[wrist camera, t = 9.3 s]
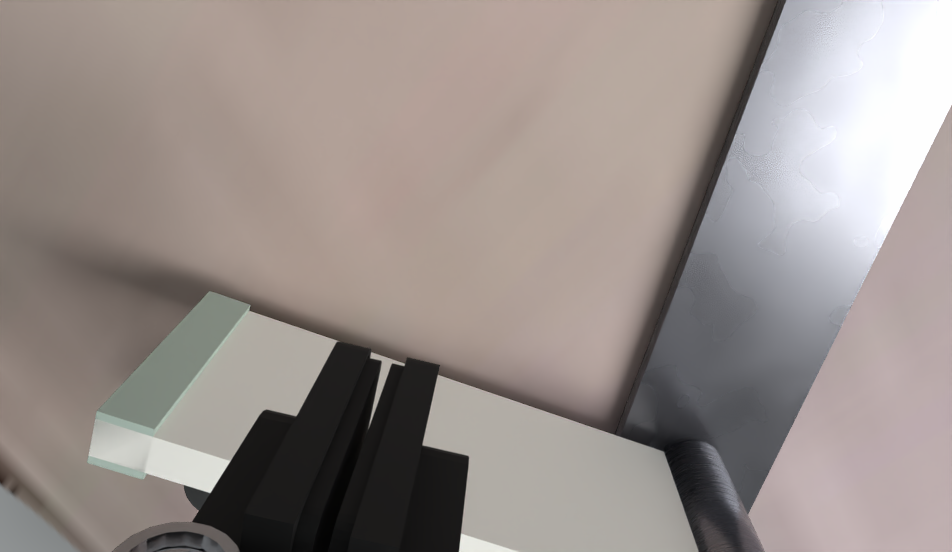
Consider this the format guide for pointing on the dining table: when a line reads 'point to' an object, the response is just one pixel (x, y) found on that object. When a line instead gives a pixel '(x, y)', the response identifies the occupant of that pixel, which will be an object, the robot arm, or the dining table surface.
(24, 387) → the dining table surface
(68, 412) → the dining table surface
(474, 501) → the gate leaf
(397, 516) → the robot arm
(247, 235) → the dining table surface
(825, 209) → the gate frame
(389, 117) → the dining table surface
